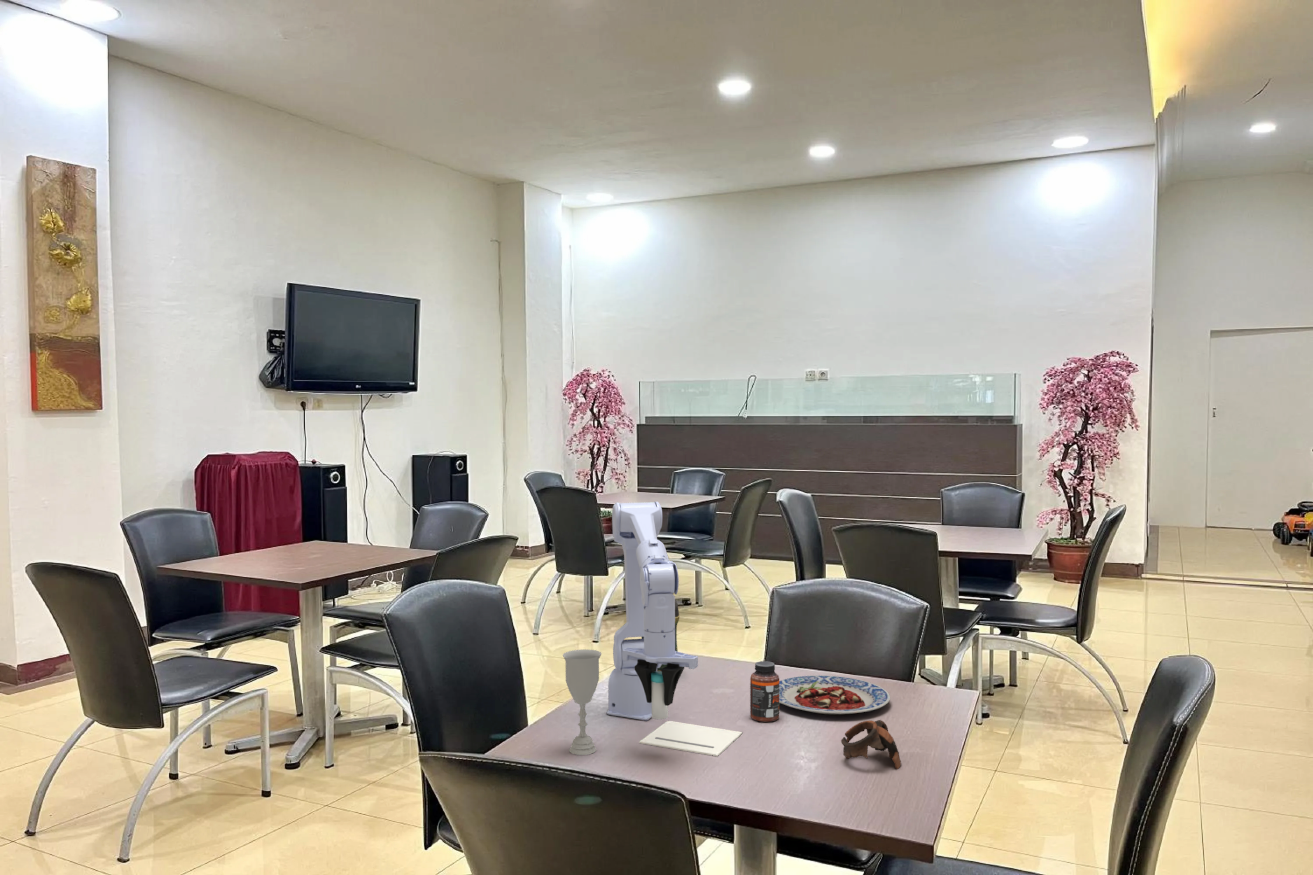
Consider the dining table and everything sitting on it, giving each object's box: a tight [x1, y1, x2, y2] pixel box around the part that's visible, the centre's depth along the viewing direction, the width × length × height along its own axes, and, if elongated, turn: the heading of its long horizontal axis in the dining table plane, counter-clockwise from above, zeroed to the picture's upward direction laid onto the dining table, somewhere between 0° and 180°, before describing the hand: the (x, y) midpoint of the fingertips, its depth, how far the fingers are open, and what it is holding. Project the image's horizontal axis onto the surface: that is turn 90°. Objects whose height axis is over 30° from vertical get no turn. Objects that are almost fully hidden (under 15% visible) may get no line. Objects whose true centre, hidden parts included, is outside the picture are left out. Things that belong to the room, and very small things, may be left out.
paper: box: [638, 720, 743, 757], centre depth 180 cm, size 16×13×1 cm
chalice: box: [562, 648, 602, 756], centre depth 174 cm, size 7×7×18 cm
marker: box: [651, 671, 669, 721], centre depth 171 cm, size 3×3×8 cm
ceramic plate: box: [779, 674, 891, 715], centre depth 202 cm, size 26×26×3 cm
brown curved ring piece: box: [840, 719, 902, 770], centre depth 169 cm, size 12×10×8 cm
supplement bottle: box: [749, 660, 780, 723], centre depth 191 cm, size 6×6×11 cm
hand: (659, 702), depth 171 cm, fingers closed on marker, 3 cm apart
